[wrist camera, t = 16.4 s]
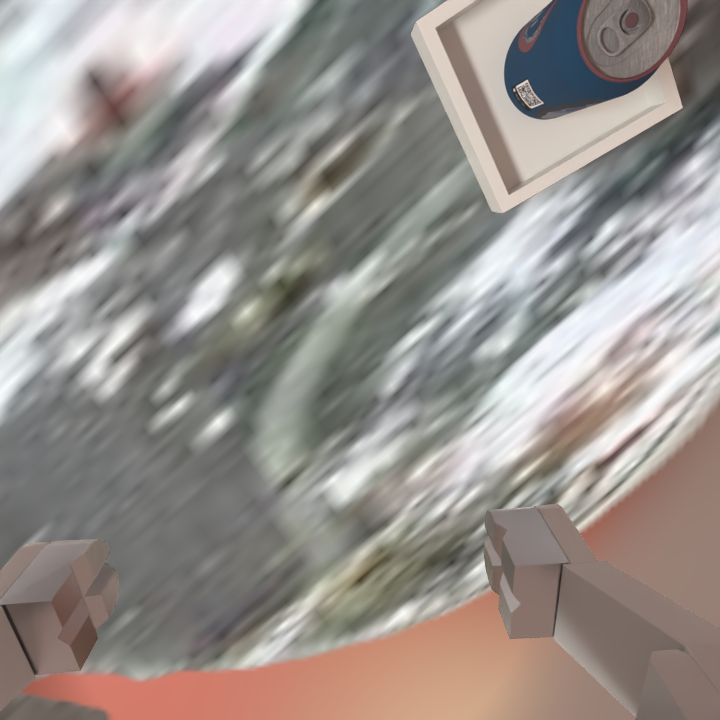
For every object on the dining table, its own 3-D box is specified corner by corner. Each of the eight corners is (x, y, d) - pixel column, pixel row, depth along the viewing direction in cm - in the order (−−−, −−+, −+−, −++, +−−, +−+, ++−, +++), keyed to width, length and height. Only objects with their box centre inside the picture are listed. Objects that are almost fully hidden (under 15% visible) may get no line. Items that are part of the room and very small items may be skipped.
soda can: (555, -6, 34) (658, -101, 23) (605, 74, 36) (723, 24, 24) (480, 68, 35) (542, 14, 24) (532, 141, 37) (611, 122, 26)
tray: (410, 34, 35) (416, 21, 32) (594, -90, 33) (617, -116, 30) (491, 211, 40) (502, 213, 37) (657, 113, 38) (682, 107, 35)
